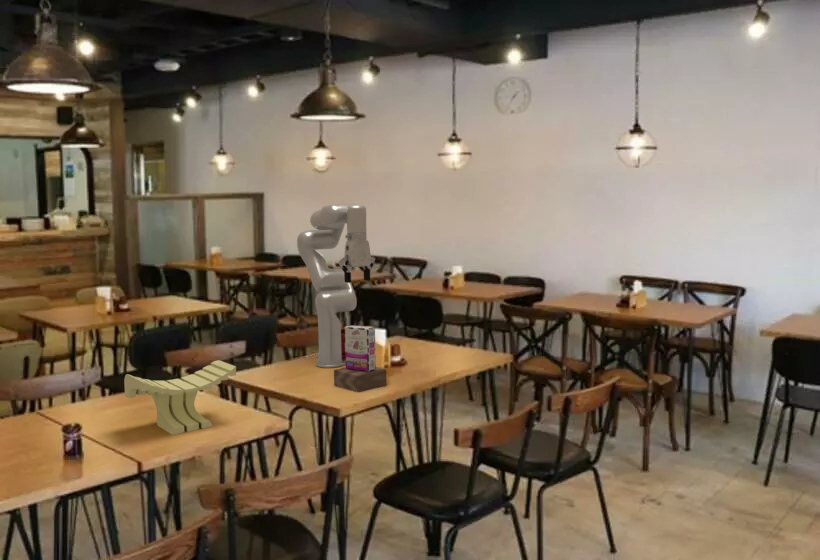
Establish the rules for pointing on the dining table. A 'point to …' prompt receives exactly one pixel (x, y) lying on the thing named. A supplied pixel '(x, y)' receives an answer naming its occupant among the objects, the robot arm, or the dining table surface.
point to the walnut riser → (359, 379)
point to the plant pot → (343, 342)
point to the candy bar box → (360, 348)
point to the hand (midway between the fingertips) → (357, 281)
